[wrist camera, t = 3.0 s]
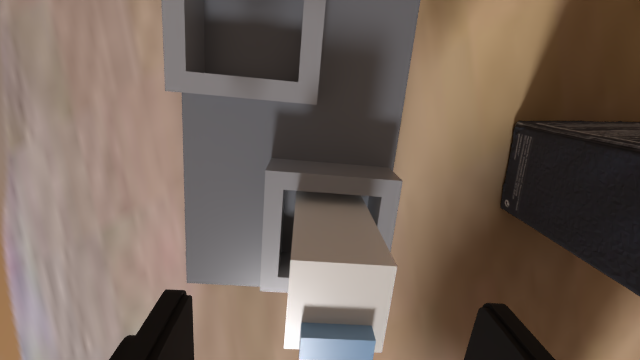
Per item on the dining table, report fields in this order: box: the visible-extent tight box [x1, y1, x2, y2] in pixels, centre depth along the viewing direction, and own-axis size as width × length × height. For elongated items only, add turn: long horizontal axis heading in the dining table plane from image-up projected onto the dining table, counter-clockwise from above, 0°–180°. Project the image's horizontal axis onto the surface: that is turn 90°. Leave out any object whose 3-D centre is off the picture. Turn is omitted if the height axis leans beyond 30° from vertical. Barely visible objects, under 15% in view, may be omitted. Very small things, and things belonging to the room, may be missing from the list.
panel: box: [162, 0, 420, 293], centre depth 18 cm, size 13×22×4 cm, turn 175°
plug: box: [284, 191, 397, 360], centre depth 16 cm, size 4×4×10 cm
